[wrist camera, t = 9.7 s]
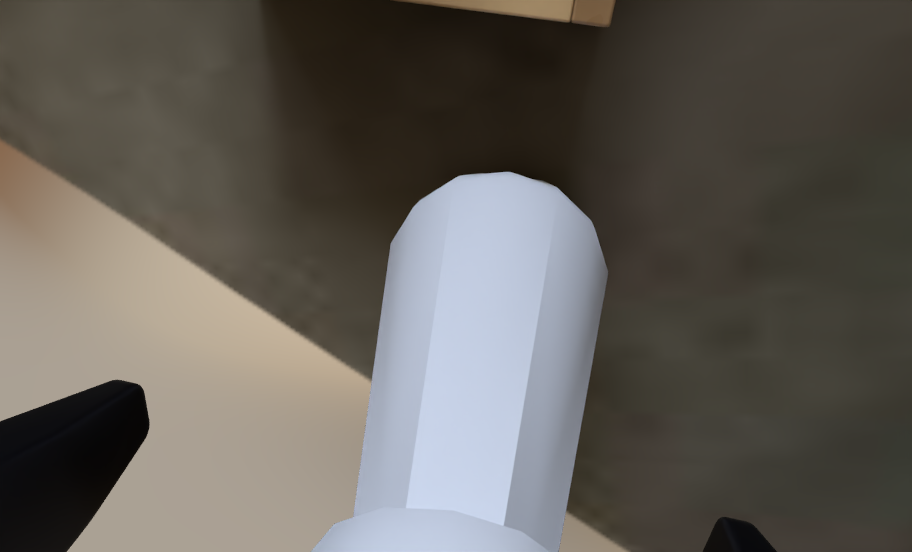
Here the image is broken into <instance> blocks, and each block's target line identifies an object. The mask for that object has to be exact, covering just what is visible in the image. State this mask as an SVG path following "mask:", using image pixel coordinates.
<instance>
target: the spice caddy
mask: <svg viewBox="0 0 912 552" xmlns="http://www.w3.org/2000/svg"><path fill="white" fill-rule="evenodd" d="M392 1H400V2H408V3H416V4H424V5H432V6H440V7H448V8H456V9H464V10H472V11H480V12H488V13H496V14H503V15H511V16H519V17H527V18H535V19H543V20H551V21H559V22H570V20H571V21H572V22H573V23H575V24H583V25H591V26H599V27H609V26H610V24H611V20H612V16H613V11H614V6H615V2H616V0H392Z"/></svg>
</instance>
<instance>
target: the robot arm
mask: <svg viewBox="0 0 912 552" xmlns="http://www.w3.org/2000/svg"><path fill="white" fill-rule="evenodd" d="M148 430H149V417H148V411H147V405H146V400H145V394H144V390H143V389H142V387H141V386H140V385H138V384H135V383H131V382H126V381H122V380H112V381H109V382H107V383H104V384H101V385H99V386H96V387H93V388H90V389H87V390H85V391H82V392H79V393H76V394H74V395H71V396H68V397H66V398H63V399H60V400H57V401H55V402H52V403H49V404H46V405H44V406H41V407H39V408H36V409H33V410H30V411H27V412H25V413H22V414H19V415H16V416H14V417H11V418H8V419H6V420H3V421H1V422H0V552H67V551H68V549H69V548H70V547H71V546H72V544H73V543H74V542H75V541H76V539H77V538H78V537H79V535H80V534H81V533H82V532H83V530H84V529H85V528H86V526H87V525H88V524H89V522H90V521H91V519H92V518H93V516H94V515H95V514H96V512H97V511H98V509H99V508H100V507H101V505H102V503H103V502H104V500H105V499H106V497H107V496H108V494H109V493H110V491H111V490H112V488H113V487H114V485H115V484H116V482H117V481H118V479H119V478H120V476H121V475H122V473H123V472H124V470H125V469H126V467H127V466H128V464H129V462H130V461H131V460H132V458H133V457H134V455H135V454H136V452H137V450H138V449H139V447H140V446H141V444H142V443H143V441H144V440H145V438H146V436H147V434H148ZM703 552H777V551H776V550H775V549H774V548H773V547H772V546H771V544H770V543H769V542H768V541H767V540H766V539H765V538H764V536H763V535H762V534H761V533H760V532H759V531H758V529H757V528H756V527H755V526H754V525H752V524H751V523H749V522H746V521H741V520H737V519H732V518H728V517H721V518H720V519H718V520H717V522H716V524H715V526H714V528H713V530H712V532H711V535H710V537H709V539H708V541H707V543H706V545H705V548H704V550H703Z"/></svg>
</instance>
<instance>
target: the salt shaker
mask: <svg viewBox="0 0 912 552" xmlns="http://www.w3.org/2000/svg"><path fill="white" fill-rule="evenodd" d="M607 277H608V270H607V266H606V263H605V260H604V257H603V254H602V250H601V247H600V244H599V241H598V238H597V234H596V231H595V228H594V226H593V223H592V221H591V220H590V219H589V218H588V217H587V216H586V215H585V214H584V213H583V212H582V211H581V210H580V209H579V208H578V207H577V206H576V205H575V204H574V203H573V202H572V201H571V200H570V199H569V198H568V197H567V196H566V195H564V194H563V193H562V192H561V191H560V190H559V189H558V188H557V187H555V186H553V185H551V184H549V183H547V182H545V181H543V180H535V179H530V178H527V177H524V176H521V175H518V174H515V173H512V172H498V173H486V174H484V173H476V174H468V175H461V176H458V177H456V178H454V179H453V180H451V181H450V182H448V183H446V184H445V185H443V186H442V187H440V188H438V189H437V190H435V191H434V192H432V193H431V194H429V195H427V196H426V197H424V198H423V199H421V200H420V201H419V202H418V203H417V204H416V205H415V206H414V207H413V208H412V210H411V211H410V213H409V215H408V216H407V218H406V220H405V221H404V223H403V224H402V226H401V228H400V229H399V231H398V233H397V234H396V236H395V237H394V239H393V241H392V242H391V245H390V253H389V260H388V267H387V274H386V282H385V289H384V296H383V304H382V311H381V318H380V326H379V333H378V340H377V347H376V355H375V362H374V369H373V377H372V384H371V391H370V398H369V406H368V413H367V420H366V428H365V435H364V442H363V449H362V457H361V464H360V471H359V472H360V473H359V479H358V486H357V493H356V501H355V508H354V516H353V518H350V519H347V520H344V521H341V522H338V523H335V524H334V525H333V526H332V527H331V528H330V530H329V531H328V532H327V533H326V534H325V536H324V537H323V538H322V539H321V540H320V542H319V543H318V544H317V545H316V546H315V547H314V549H313V550H312V551H311V552H559V547H560V541H561V536H562V530H563V525H564V519H565V513H566V508H567V502H568V496H569V491H570V485H571V480H572V474H573V468H574V463H575V457H576V451H577V446H578V440H579V434H580V429H581V423H582V418H583V412H584V406H585V401H586V395H587V389H588V384H589V378H590V372H591V367H592V361H593V356H594V350H595V344H596V339H597V333H598V327H599V322H600V316H601V311H602V305H603V299H604V294H605V288H606V282H607Z"/></svg>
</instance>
